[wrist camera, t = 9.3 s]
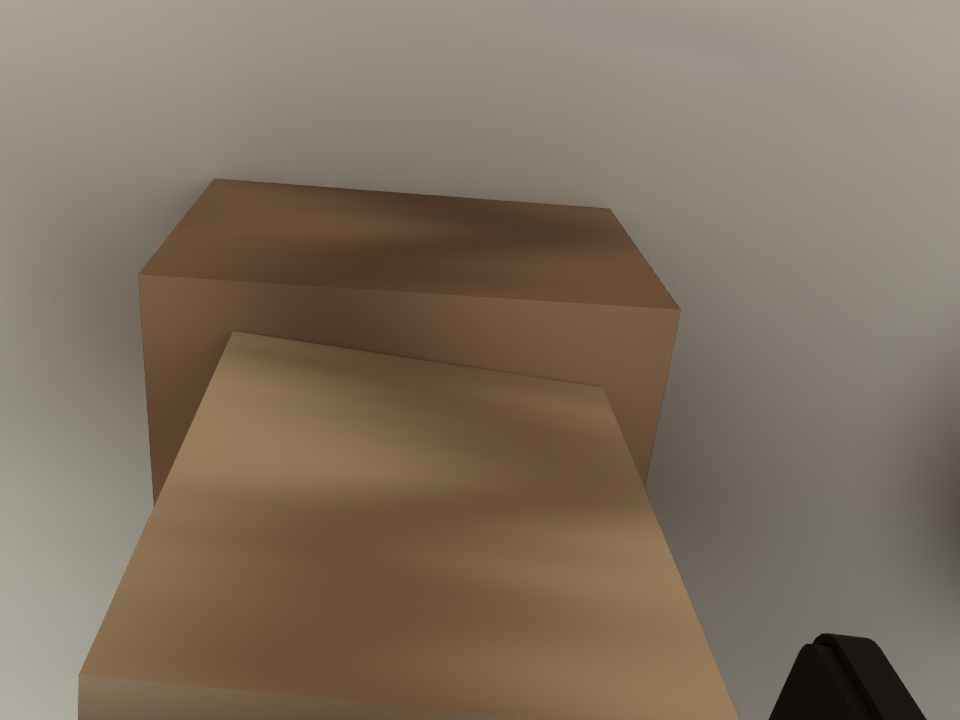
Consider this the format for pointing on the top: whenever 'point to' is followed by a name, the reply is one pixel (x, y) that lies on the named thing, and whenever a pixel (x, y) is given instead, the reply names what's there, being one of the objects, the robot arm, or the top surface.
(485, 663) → the maple block
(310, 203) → the walnut block
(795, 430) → the top surface
